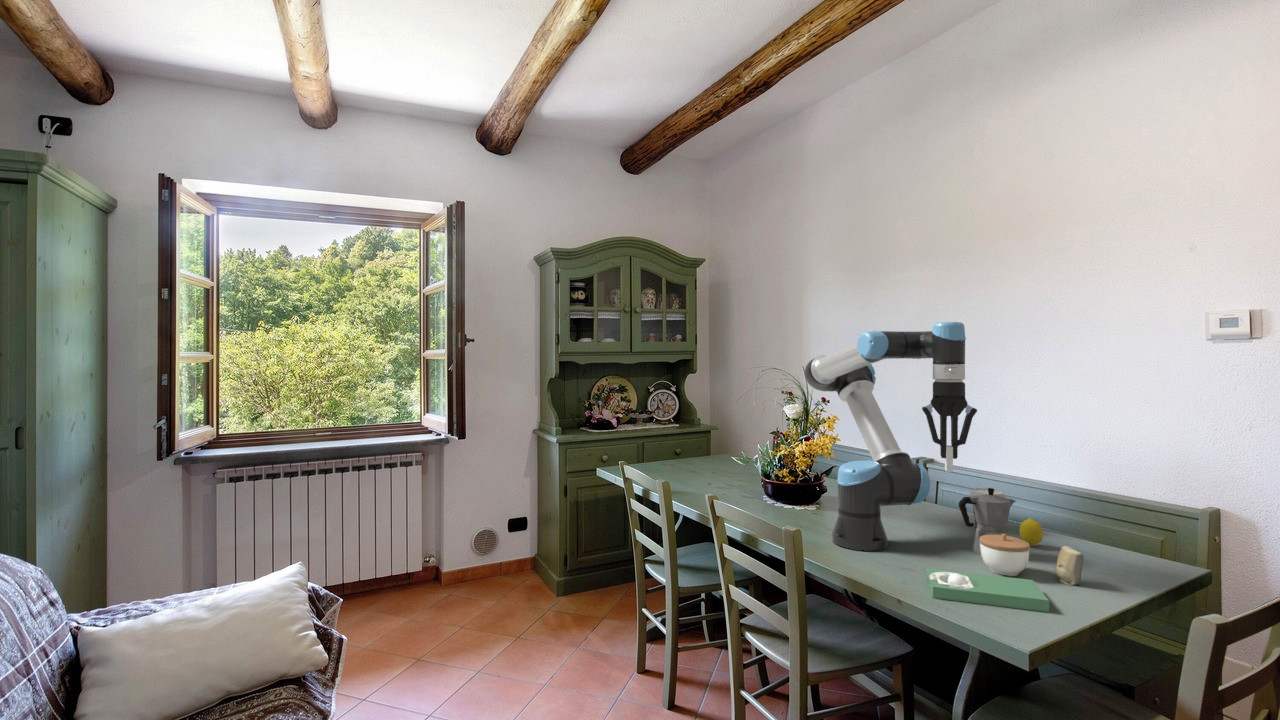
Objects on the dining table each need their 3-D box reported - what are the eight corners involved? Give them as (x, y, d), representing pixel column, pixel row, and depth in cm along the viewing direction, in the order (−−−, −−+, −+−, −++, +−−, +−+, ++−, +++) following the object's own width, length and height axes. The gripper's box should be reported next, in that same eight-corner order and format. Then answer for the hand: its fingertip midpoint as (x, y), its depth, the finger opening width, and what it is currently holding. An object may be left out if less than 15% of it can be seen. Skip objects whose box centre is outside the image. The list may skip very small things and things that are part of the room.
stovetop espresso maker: (1012, 533, 176) (1011, 494, 176) (980, 533, 176) (980, 494, 176) (993, 524, 185) (993, 487, 185) (963, 524, 185) (963, 487, 185)
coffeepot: (1004, 547, 163) (1004, 484, 163) (1026, 559, 153) (1026, 491, 153) (950, 548, 163) (949, 484, 163) (969, 559, 153) (968, 492, 153)
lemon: (1035, 543, 166) (1035, 515, 166) (1047, 549, 161) (1047, 521, 161) (1015, 543, 167) (1015, 515, 167) (1026, 549, 161) (1026, 520, 161)
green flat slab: (932, 597, 129) (932, 586, 129) (926, 578, 140) (926, 568, 140) (1049, 612, 121) (1049, 600, 121) (1032, 590, 132) (1032, 580, 132)
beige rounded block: (1089, 584, 136) (1089, 550, 136) (1079, 588, 133) (1078, 554, 133) (1062, 576, 141) (1061, 543, 141) (1051, 580, 138) (1051, 547, 138)
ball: (944, 584, 131) (957, 573, 130) (942, 579, 135) (955, 567, 134) (959, 598, 130) (972, 586, 129) (957, 592, 134) (970, 580, 133)
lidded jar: (1031, 582, 137) (1030, 543, 137) (979, 574, 143) (978, 536, 143) (1029, 568, 146) (1028, 532, 146) (980, 561, 152) (979, 525, 152)
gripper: (922, 381, 149) (923, 471, 149) (980, 381, 145) (980, 475, 145) (919, 380, 156) (919, 466, 156) (974, 380, 152) (974, 469, 152)
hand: (948, 470), depth 150 cm, fingers closed
